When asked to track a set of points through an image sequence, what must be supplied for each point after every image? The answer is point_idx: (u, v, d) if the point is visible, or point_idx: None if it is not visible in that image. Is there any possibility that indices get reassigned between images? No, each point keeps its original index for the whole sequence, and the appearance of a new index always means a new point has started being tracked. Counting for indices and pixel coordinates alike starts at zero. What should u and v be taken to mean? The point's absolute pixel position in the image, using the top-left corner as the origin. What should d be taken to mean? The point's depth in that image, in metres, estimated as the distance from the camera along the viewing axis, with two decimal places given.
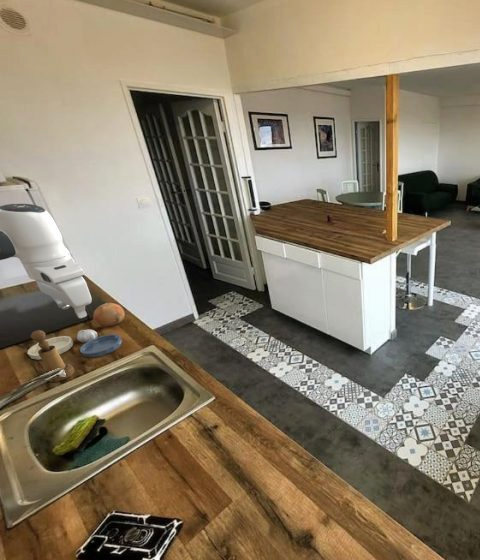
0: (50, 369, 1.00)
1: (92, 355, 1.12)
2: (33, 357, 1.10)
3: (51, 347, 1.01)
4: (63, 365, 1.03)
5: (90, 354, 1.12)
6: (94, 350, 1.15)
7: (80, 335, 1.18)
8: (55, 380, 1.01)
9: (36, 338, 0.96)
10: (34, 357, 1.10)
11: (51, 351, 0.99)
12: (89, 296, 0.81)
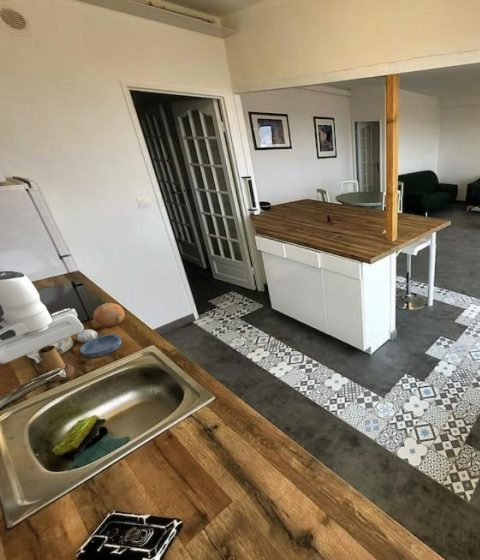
0: (50, 369, 1.00)
1: (92, 355, 1.12)
2: None
3: (51, 347, 1.01)
4: (63, 365, 1.03)
5: (90, 354, 1.12)
6: (94, 350, 1.15)
7: (80, 335, 1.18)
8: (55, 380, 1.01)
9: None
10: None
11: (51, 351, 0.99)
12: None
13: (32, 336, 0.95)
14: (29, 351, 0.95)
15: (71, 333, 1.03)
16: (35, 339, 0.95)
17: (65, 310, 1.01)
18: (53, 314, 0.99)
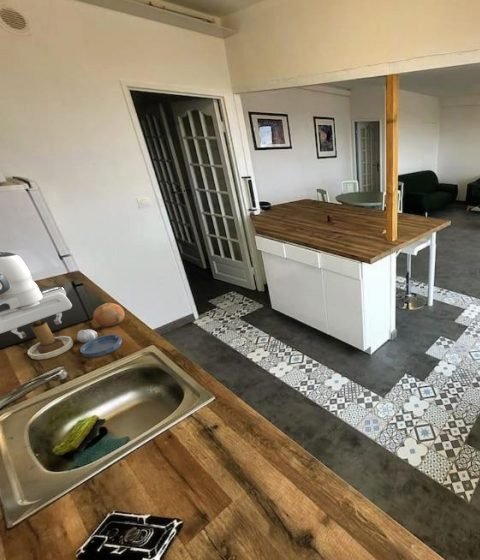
0: (42, 342, 1.12)
1: (92, 355, 1.12)
2: (33, 357, 1.10)
3: (42, 322, 1.12)
4: (53, 339, 1.15)
5: (90, 354, 1.12)
6: (94, 350, 1.15)
7: (80, 335, 1.18)
8: (46, 352, 1.13)
9: None
10: (34, 357, 1.10)
11: (42, 326, 1.11)
12: None
13: (24, 310, 1.06)
14: (22, 324, 1.06)
15: (60, 309, 1.14)
16: (27, 313, 1.07)
17: (55, 288, 1.13)
18: (44, 292, 1.10)
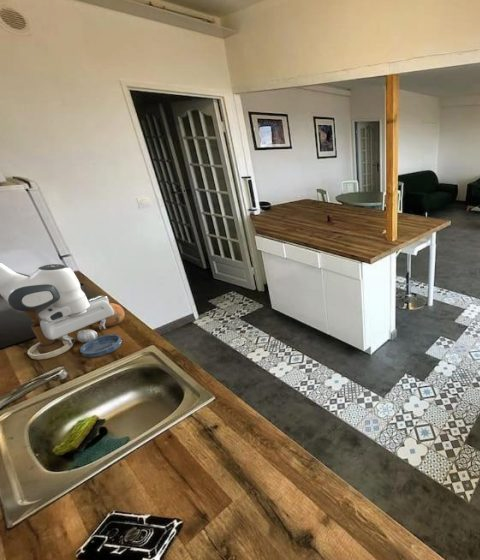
0: (42, 342, 1.12)
1: (92, 355, 1.12)
2: (33, 357, 1.10)
3: None
4: None
5: (90, 354, 1.12)
6: (94, 350, 1.15)
7: (80, 335, 1.18)
8: (46, 352, 1.13)
9: (29, 313, 1.07)
10: (34, 357, 1.10)
11: None
12: (47, 336, 1.09)
13: (74, 317, 1.15)
14: (72, 330, 1.15)
15: (104, 316, 1.23)
16: (76, 320, 1.15)
17: (99, 297, 1.21)
18: (90, 300, 1.19)
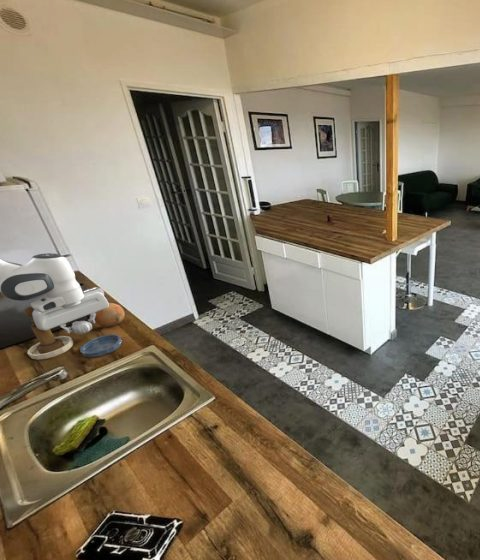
0: (42, 342, 1.12)
1: (92, 355, 1.12)
2: (33, 357, 1.10)
3: None
4: (53, 339, 1.15)
5: (90, 354, 1.12)
6: (94, 350, 1.15)
7: (74, 326, 1.16)
8: (46, 352, 1.13)
9: (29, 313, 1.07)
10: (34, 357, 1.10)
11: None
12: (39, 326, 1.07)
13: (67, 308, 1.12)
14: (65, 321, 1.12)
15: (99, 308, 1.20)
16: (70, 311, 1.13)
17: (94, 288, 1.19)
18: (85, 291, 1.17)
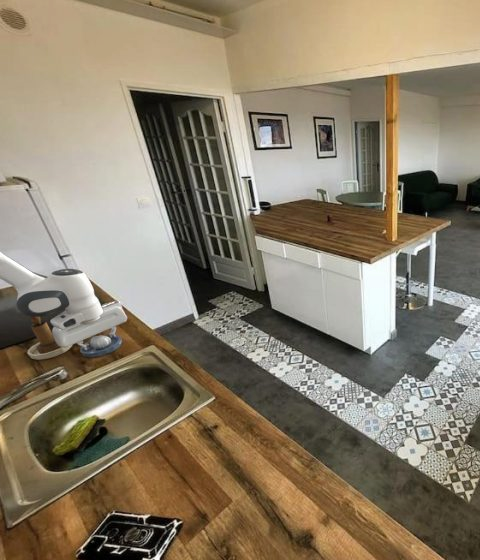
0: (42, 342, 1.12)
1: (92, 355, 1.12)
2: (33, 357, 1.10)
3: (42, 322, 1.12)
4: (53, 339, 1.15)
5: (90, 354, 1.12)
6: (94, 350, 1.15)
7: (93, 341, 1.14)
8: (46, 352, 1.13)
9: None
10: (34, 357, 1.10)
11: (42, 326, 1.11)
12: (60, 343, 1.05)
13: (87, 324, 1.10)
14: (85, 337, 1.10)
15: (117, 323, 1.19)
16: (89, 327, 1.11)
17: (113, 302, 1.17)
18: (103, 306, 1.15)
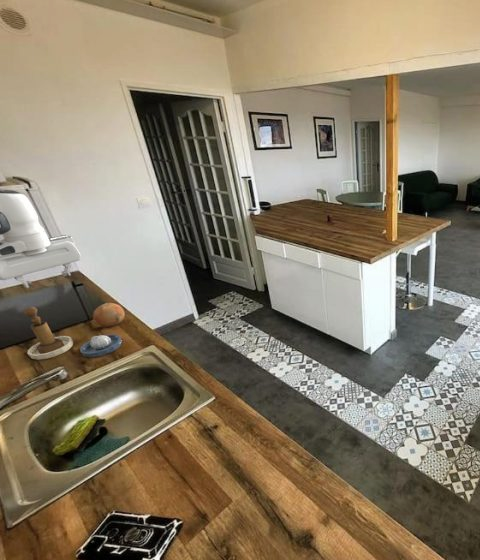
0: (42, 342, 1.12)
1: (92, 355, 1.12)
2: (33, 357, 1.10)
3: (42, 322, 1.12)
4: (53, 339, 1.15)
5: (90, 354, 1.12)
6: (94, 350, 1.15)
7: (93, 341, 1.14)
8: (46, 352, 1.13)
9: (29, 313, 1.07)
10: (34, 357, 1.10)
11: (42, 326, 1.11)
12: None
13: (30, 256, 0.97)
14: (28, 271, 0.97)
15: (69, 260, 1.05)
16: (34, 260, 0.98)
17: (63, 236, 1.04)
18: (51, 238, 1.01)
